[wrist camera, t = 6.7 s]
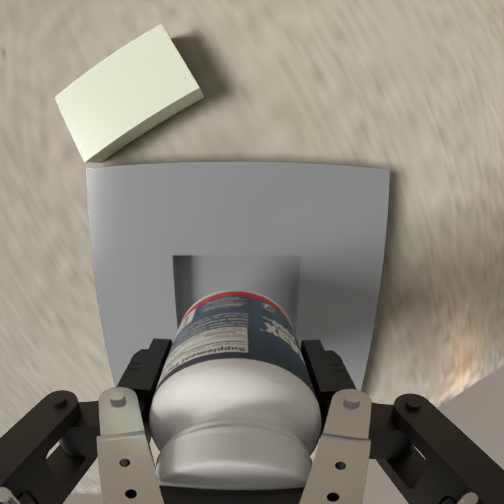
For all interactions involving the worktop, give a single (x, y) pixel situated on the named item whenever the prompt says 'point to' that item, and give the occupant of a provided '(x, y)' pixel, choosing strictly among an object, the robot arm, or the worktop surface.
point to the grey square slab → (238, 248)
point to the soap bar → (127, 95)
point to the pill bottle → (235, 399)
